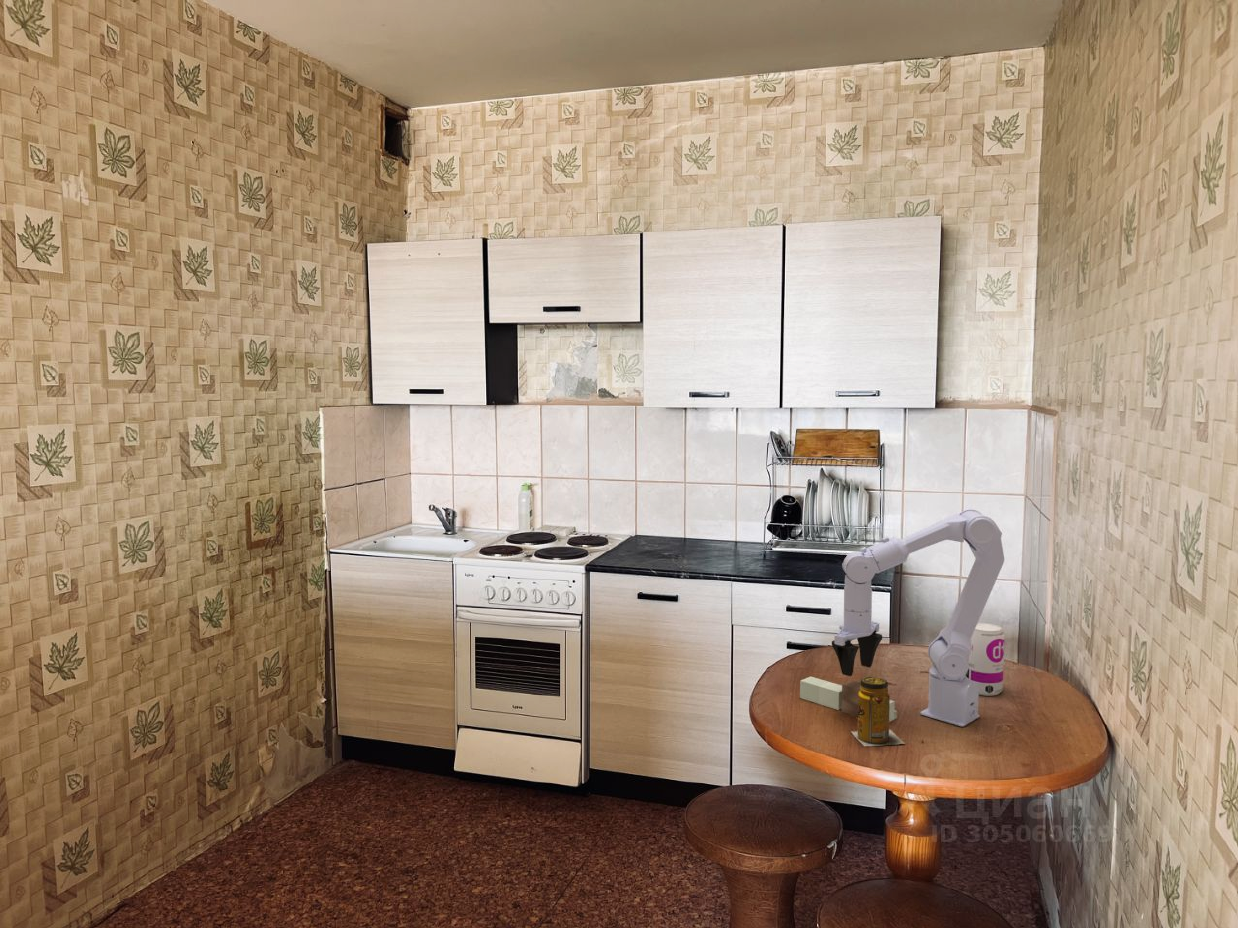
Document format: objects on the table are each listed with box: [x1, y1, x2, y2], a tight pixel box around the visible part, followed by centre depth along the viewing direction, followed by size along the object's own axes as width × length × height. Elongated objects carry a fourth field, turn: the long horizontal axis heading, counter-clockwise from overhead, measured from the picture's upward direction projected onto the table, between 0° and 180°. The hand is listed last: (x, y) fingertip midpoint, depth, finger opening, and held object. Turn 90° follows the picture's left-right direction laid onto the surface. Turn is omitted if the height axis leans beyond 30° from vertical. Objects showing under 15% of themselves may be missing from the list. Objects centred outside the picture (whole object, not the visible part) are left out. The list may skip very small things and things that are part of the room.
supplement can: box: [966, 621, 1006, 697], centre depth 197 cm, size 8×8×15 cm
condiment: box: [850, 676, 906, 747], centre depth 171 cm, size 7×8×12 cm
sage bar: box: [799, 675, 898, 723], centre depth 188 cm, size 21×5×4 cm, turn 43°
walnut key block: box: [841, 679, 861, 717], centre depth 186 cm, size 4×4×6 cm
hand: (856, 670), depth 185 cm, fingers open, 7 cm apart
